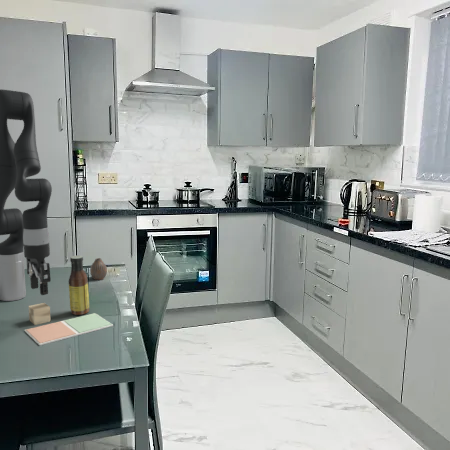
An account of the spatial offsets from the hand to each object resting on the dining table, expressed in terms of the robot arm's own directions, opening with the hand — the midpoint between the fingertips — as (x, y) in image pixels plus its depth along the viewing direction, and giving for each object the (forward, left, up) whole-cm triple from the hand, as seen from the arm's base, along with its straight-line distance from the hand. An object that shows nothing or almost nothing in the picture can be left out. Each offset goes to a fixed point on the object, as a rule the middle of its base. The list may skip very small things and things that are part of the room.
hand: (39, 291), depth 144 cm
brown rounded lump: (-32, +36, -10) cm, 49 cm away
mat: (+12, +5, -10) cm, 16 cm away
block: (0, 0, -10) cm, 10 cm away
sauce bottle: (+1, +13, -10) cm, 16 cm away
